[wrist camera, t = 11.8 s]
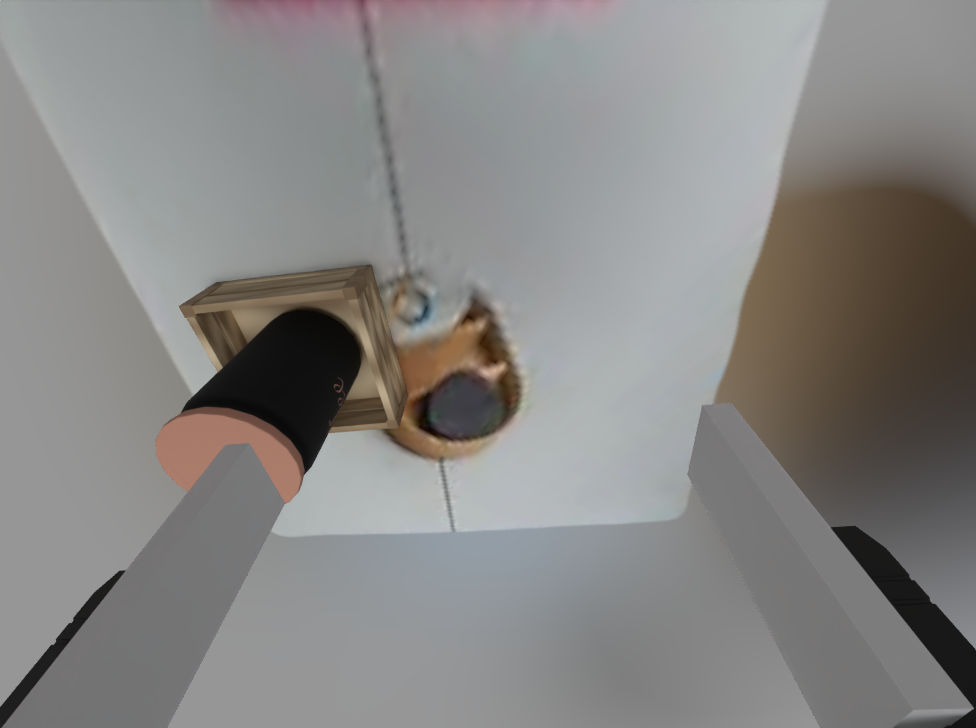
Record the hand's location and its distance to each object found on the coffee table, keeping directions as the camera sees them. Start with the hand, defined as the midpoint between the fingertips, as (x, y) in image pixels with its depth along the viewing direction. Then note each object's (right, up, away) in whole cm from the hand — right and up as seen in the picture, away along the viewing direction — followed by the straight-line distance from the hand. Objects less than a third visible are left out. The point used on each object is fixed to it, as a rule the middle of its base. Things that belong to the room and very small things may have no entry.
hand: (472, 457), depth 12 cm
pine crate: (-19, +5, +35) cm, 40 cm away
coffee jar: (-19, +5, +34) cm, 39 cm away
